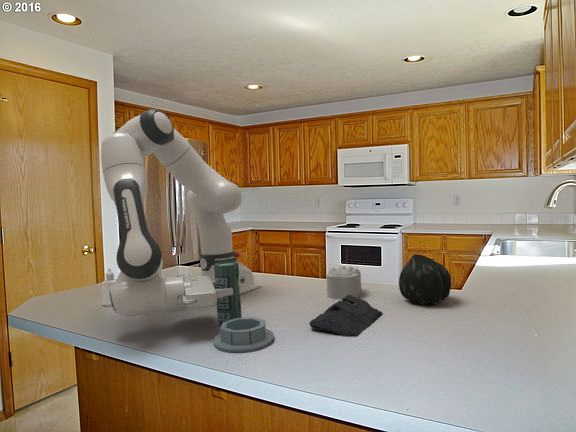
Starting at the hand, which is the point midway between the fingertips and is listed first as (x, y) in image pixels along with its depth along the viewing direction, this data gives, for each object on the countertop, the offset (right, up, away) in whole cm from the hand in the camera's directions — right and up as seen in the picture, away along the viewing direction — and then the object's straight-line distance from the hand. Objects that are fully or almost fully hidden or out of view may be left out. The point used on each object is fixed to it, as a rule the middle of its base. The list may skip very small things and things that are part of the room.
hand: (231, 287), depth 111 cm
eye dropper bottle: (-43, -10, +26) cm, 51 cm away
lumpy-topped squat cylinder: (+34, -7, +25) cm, 43 cm away
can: (0, -9, 0) cm, 9 cm away
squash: (+56, -6, +11) cm, 57 cm away
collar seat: (+5, -10, -14) cm, 18 cm away
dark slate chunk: (+30, -9, -3) cm, 32 cm away
